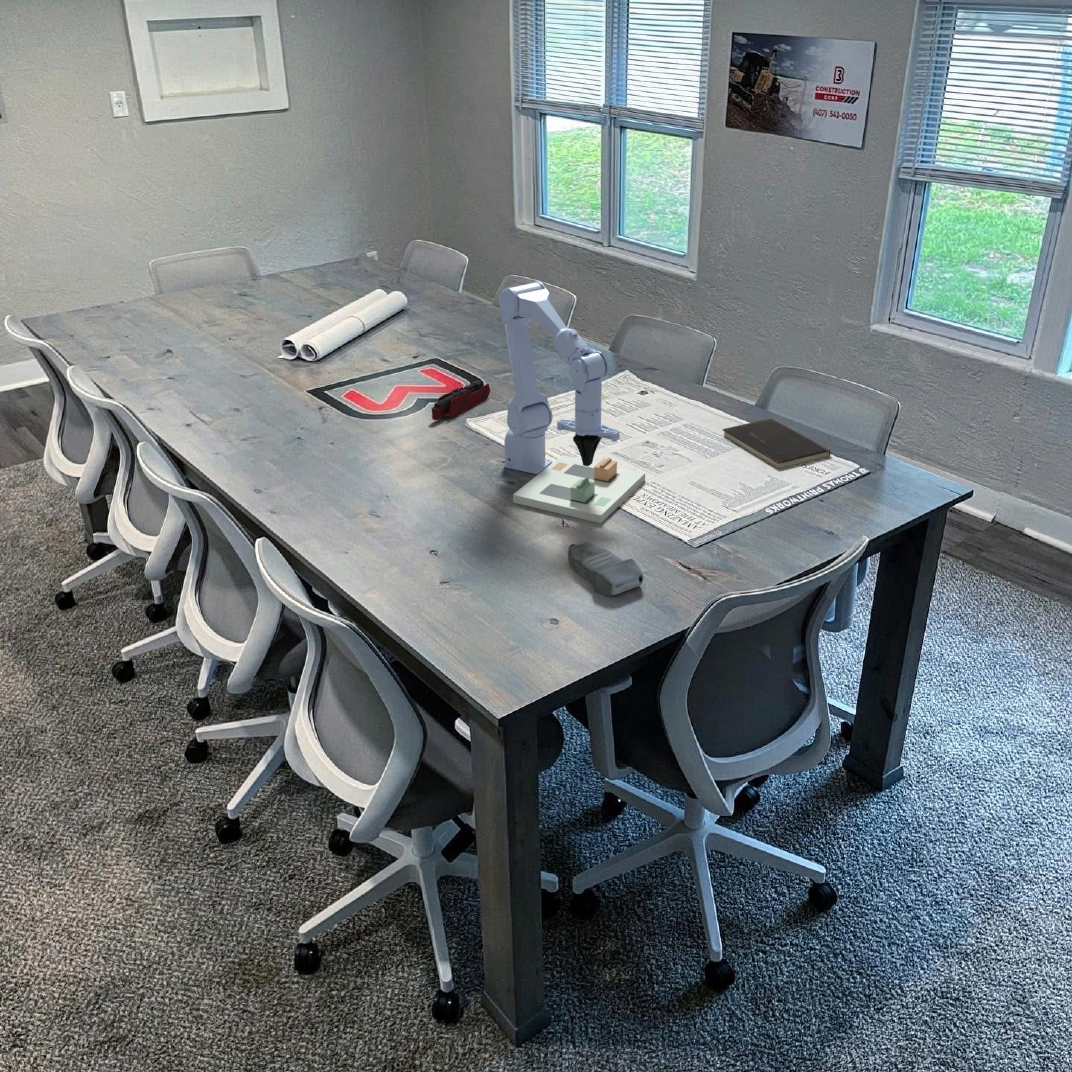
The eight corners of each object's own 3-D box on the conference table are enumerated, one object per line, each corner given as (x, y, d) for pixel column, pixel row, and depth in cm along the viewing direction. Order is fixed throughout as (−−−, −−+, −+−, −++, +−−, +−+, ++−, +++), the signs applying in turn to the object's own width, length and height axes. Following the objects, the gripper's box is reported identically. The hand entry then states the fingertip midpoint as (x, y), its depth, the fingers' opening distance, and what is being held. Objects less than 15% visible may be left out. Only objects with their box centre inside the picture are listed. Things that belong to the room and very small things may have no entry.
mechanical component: (441, 425, 280) (440, 406, 277) (427, 422, 282) (426, 402, 279) (490, 398, 297) (490, 379, 294) (477, 394, 299) (477, 376, 296)
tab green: (570, 499, 235) (570, 484, 233) (580, 490, 239) (580, 476, 237) (584, 502, 234) (584, 487, 232) (594, 493, 238) (594, 479, 236)
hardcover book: (777, 471, 253) (778, 462, 252) (721, 437, 271) (722, 429, 270) (830, 458, 259) (831, 449, 258) (772, 425, 277) (773, 417, 276)
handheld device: (588, 546, 221) (589, 527, 219) (648, 588, 207) (649, 568, 204) (550, 559, 217) (550, 540, 215) (609, 603, 202) (609, 582, 200)
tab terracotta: (593, 478, 244) (594, 464, 243) (603, 470, 248) (603, 456, 246) (607, 481, 243) (607, 467, 241) (616, 473, 247) (617, 459, 245)
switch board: (513, 502, 239) (513, 494, 238) (562, 462, 257) (562, 455, 256) (600, 523, 230) (601, 515, 229) (644, 480, 248) (645, 472, 247)
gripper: (550, 407, 230) (550, 464, 237) (610, 419, 224) (608, 477, 230) (565, 397, 235) (565, 453, 242) (624, 408, 229) (622, 465, 236)
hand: (587, 464), depth 236 cm, fingers closed
